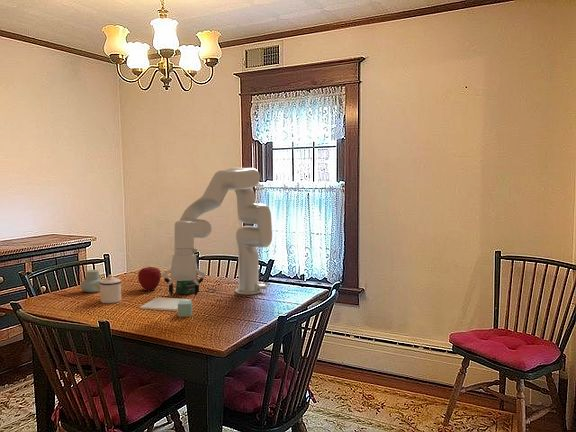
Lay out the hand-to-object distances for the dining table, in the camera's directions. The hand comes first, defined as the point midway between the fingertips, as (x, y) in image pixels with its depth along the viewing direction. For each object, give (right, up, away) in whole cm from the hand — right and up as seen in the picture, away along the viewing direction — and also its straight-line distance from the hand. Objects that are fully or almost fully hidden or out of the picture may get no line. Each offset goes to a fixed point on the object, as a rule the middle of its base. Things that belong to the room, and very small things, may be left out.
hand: (184, 294), depth 200 cm
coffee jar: (-6, -5, +37) cm, 38 cm away
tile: (-11, -7, +16) cm, 20 cm away
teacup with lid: (-38, -7, +23) cm, 45 cm away
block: (0, -8, +1) cm, 9 cm away
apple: (-26, -5, +43) cm, 51 cm away
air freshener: (-52, -5, +40) cm, 66 cm away
